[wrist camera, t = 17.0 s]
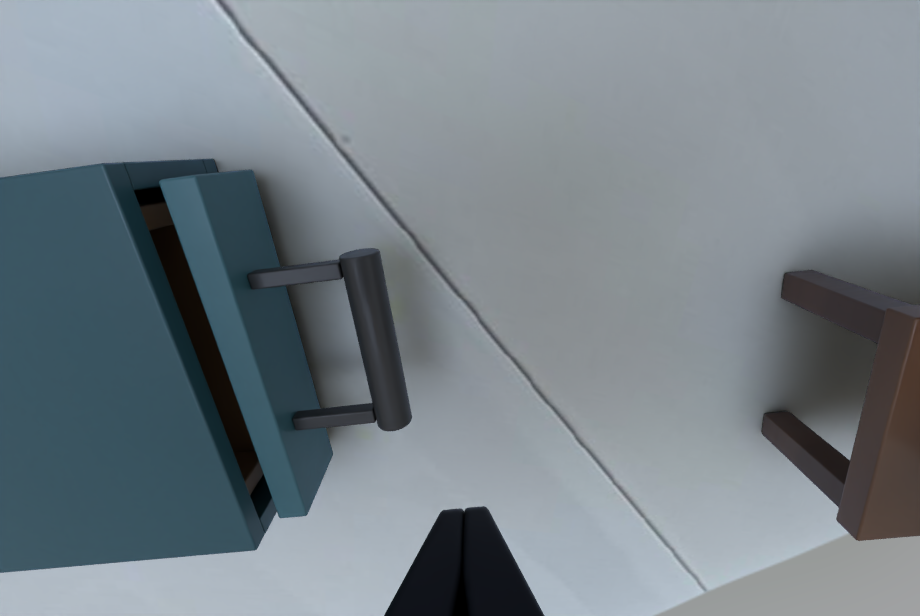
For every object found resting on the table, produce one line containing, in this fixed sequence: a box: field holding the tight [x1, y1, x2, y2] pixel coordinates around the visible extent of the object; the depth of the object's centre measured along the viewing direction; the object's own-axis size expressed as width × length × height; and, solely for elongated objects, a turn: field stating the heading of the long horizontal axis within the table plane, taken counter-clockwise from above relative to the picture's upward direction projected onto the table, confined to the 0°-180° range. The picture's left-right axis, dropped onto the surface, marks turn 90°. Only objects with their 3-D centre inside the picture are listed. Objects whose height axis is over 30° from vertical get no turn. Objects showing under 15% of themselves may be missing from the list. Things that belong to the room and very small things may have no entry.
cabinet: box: [0, 159, 277, 573], centre depth 17 cm, size 16×15×6 cm
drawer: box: [139, 170, 412, 518], centre depth 17 cm, size 19×13×4 cm
